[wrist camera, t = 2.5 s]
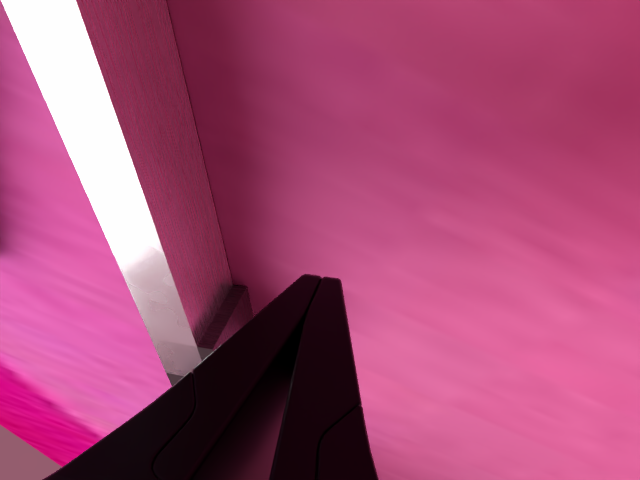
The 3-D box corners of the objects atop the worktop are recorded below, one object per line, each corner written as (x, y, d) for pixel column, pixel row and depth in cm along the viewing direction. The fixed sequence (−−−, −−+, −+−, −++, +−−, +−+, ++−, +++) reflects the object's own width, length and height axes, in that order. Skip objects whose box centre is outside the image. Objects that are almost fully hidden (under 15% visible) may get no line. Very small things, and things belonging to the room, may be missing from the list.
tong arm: (-104, -622, 6) (-617, -1123, 3) (41, -689, 6) (-417, -1375, 3) (202, 326, 19) (155, 404, 16) (256, 335, 19) (219, 418, 16)
